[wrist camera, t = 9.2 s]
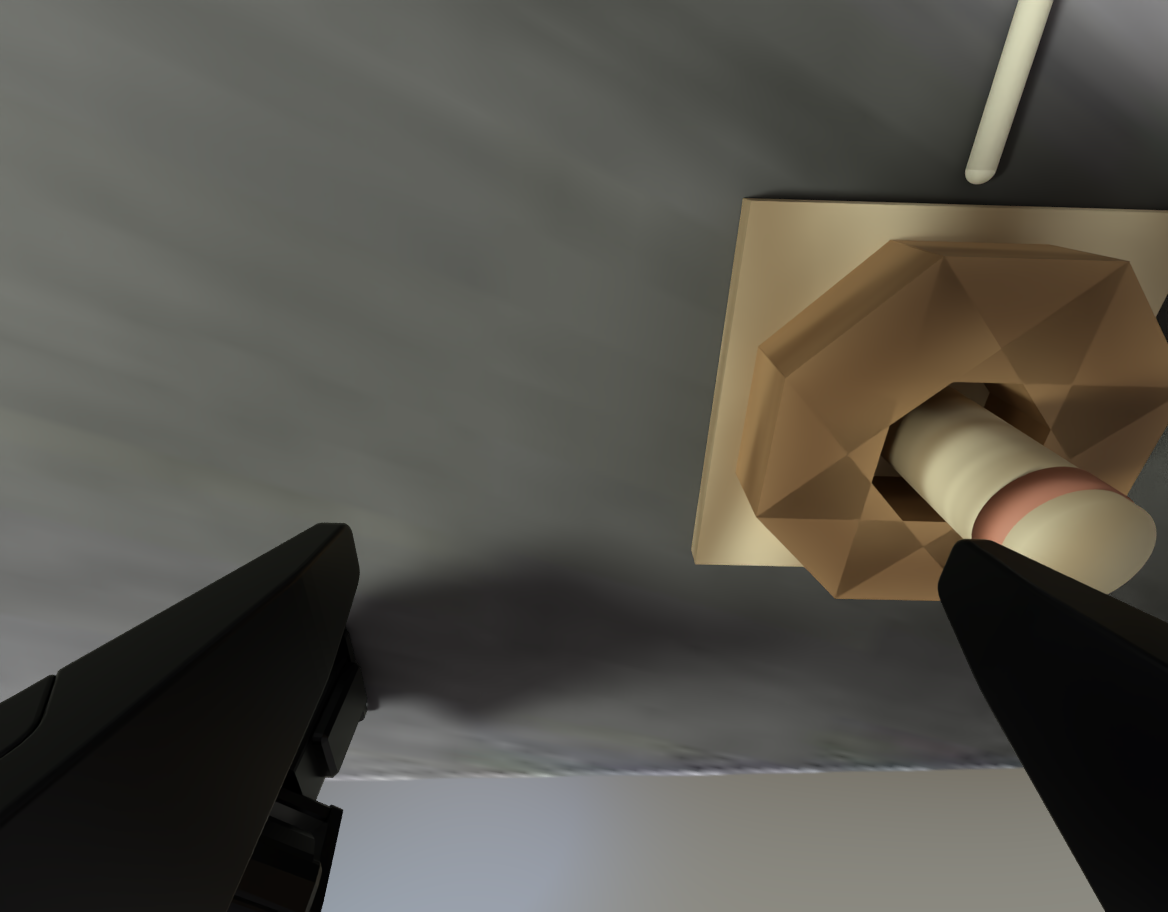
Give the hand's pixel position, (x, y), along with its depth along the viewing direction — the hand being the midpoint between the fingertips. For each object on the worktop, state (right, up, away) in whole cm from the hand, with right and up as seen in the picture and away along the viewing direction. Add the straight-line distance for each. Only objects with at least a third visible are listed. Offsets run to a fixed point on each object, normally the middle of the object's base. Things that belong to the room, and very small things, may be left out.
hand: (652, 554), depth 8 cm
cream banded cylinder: (+11, +3, +12) cm, 16 cm away
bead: (+11, +3, +12) cm, 16 cm away
